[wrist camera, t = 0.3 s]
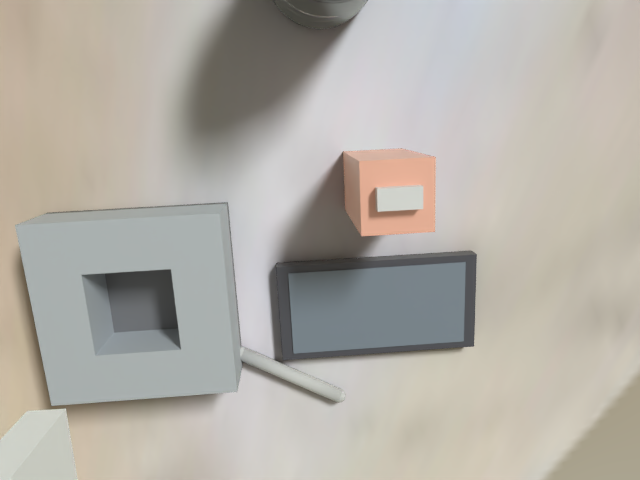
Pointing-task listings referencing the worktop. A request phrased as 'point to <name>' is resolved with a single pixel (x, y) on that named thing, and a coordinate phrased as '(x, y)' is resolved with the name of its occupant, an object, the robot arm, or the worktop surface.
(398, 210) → the block
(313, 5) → the supplement bottle
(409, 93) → the worktop surface
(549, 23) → the worktop surface
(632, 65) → the worktop surface
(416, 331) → the phone
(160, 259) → the outlet plate
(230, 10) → the worktop surface
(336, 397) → the cable
